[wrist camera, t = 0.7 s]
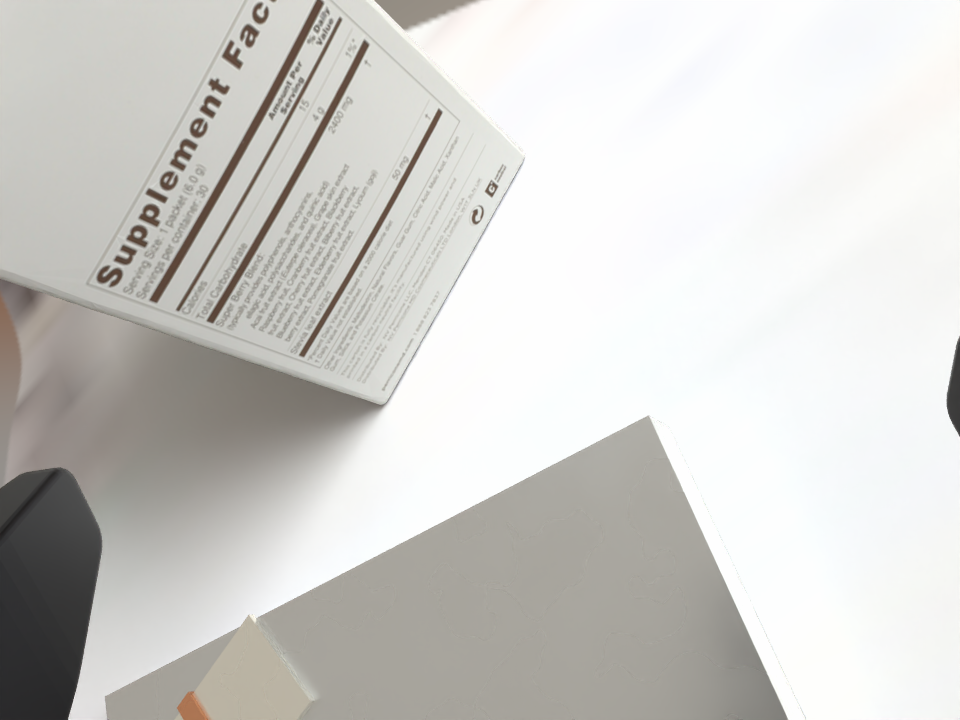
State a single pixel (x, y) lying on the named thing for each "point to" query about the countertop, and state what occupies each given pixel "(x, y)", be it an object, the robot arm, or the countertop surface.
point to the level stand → (510, 616)
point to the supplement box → (244, 176)
